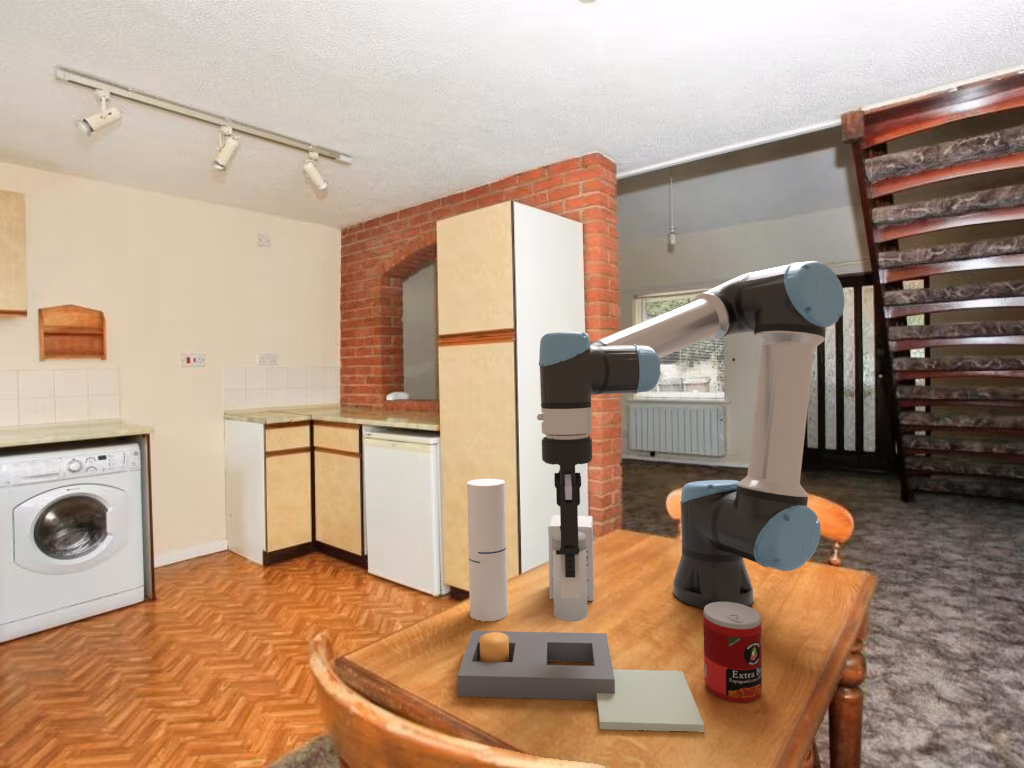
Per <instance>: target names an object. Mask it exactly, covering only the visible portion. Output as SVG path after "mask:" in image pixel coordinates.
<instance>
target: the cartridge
mask: <svg viewBox="0 0 1024 768" xmlns="http://www.w3.org/2000/svg"><path fill="white" fill-rule="evenodd" d="M578 547H579V550H580V551H579V579H580V598H561V566H560V555H556V550H560V548H561V531H559V532H555V533H553V534H552V549H553V589H554V599H553V616H554V617H555V618H557V619H558V620H561V621H563V622H564V621H565V622H578V621H582V620H584V619H586V618H587V617H588V601H587V577H586V535H585V534H584V533H582V532H579V531H578Z"/></svg>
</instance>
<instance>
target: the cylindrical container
mask: <svg viewBox="0 0 1024 768" xmlns="http://www.w3.org/2000/svg"><path fill="white" fill-rule="evenodd" d="M466 485H467V487H466V491H467V532H468V533H467V534H468V535H467V538H468V546H467V547H468V548H467V549H468V580H469V581H468V583H469V585H468V586H469V587H468V588H469V591H468V593H469V616H470V617H471V619H473V618H474V619H473V620H475V619H476V620H475V621H478V620H481V621H480V622H485V621H489V622H495V621H496V620H497V621H500V620H502V619H504V618H505V617H507V615H508V573H507V572H508V571H507V570H508V569H507V567H508V566H507V564H508V563H507V562H508V561H507V522H506V521H507V517H506V515H507V513H506V481H505V480H504V479H499V478H476V479H471V480H469V481H467V482H466Z"/></svg>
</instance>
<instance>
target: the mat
mask: <svg viewBox="0 0 1024 768" xmlns="http://www.w3.org/2000/svg"><path fill="white" fill-rule="evenodd" d="M613 673H614V678H615V694H610V693H597V700H596V706H597V715H598V722H599V730H611V731H613V730H614V731H616V730H617V731H638V730H644V731H645V732H646V731H647V730H648V731H647V732H649V730H650V732H669V731H700V732H699V733H701V731H703V732H704V733H705V723H704V721H703V718H702V716H701V715H702V714H700V711H699V708H698V706H697V703H696V700H695V699H694V696H693V694H692V690H691V689H690V686H689V684H688V681H687V679H686V677H685V674H684V672H683V670H652V669H614V668H613Z"/></svg>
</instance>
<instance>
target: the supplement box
mask: <svg viewBox="0 0 1024 768" xmlns="http://www.w3.org/2000/svg"><path fill="white" fill-rule="evenodd" d="M560 525H561V521H560V514H553V515H551V518H550V520H549V523H548V527H547V528H548V530H547V531H548V533H547V534H548V572H549V573H548V575H549V576H548V579H549V581H548V582H549V600H554V589H553V549H552V534H553V533H555V532H559V531H561V530H560ZM593 527H594V525H593V515H578V531H579V532H582V533H584V534H585V535H586V577H587V602H594V596H595V595H594V594H595V574H594V573H595V568H594V567H595V565H594V564H595V563H594V532H593V531H594V528H593Z"/></svg>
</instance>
